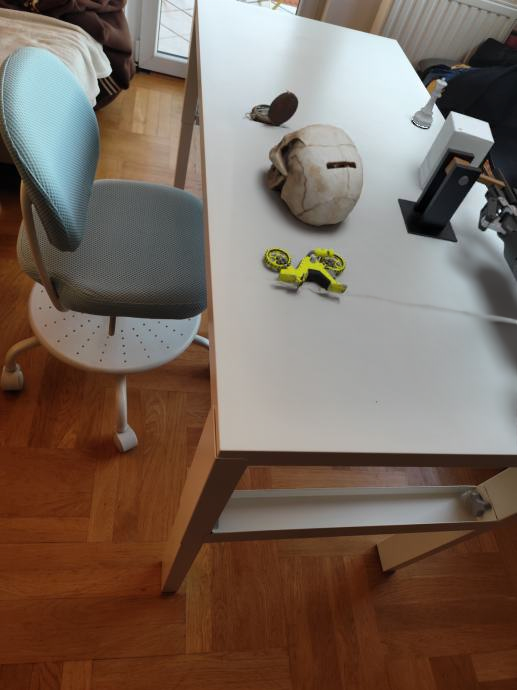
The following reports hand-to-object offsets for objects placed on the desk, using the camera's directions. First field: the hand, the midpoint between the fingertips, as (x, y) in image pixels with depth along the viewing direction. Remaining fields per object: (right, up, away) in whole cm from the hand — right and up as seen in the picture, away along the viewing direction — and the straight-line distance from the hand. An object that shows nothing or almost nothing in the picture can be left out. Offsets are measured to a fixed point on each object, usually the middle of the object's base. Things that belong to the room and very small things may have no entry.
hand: (500, 191), depth 78 cm
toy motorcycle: (-32, -15, -9) cm, 37 cm away
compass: (-38, +18, +15) cm, 44 cm away
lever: (-4, +1, 0) cm, 4 cm away
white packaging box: (-5, +5, +15) cm, 16 cm away
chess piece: (-3, +24, +30) cm, 39 cm away
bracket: (-10, -4, +6) cm, 13 cm away
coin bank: (-32, 0, +3) cm, 32 cm away
